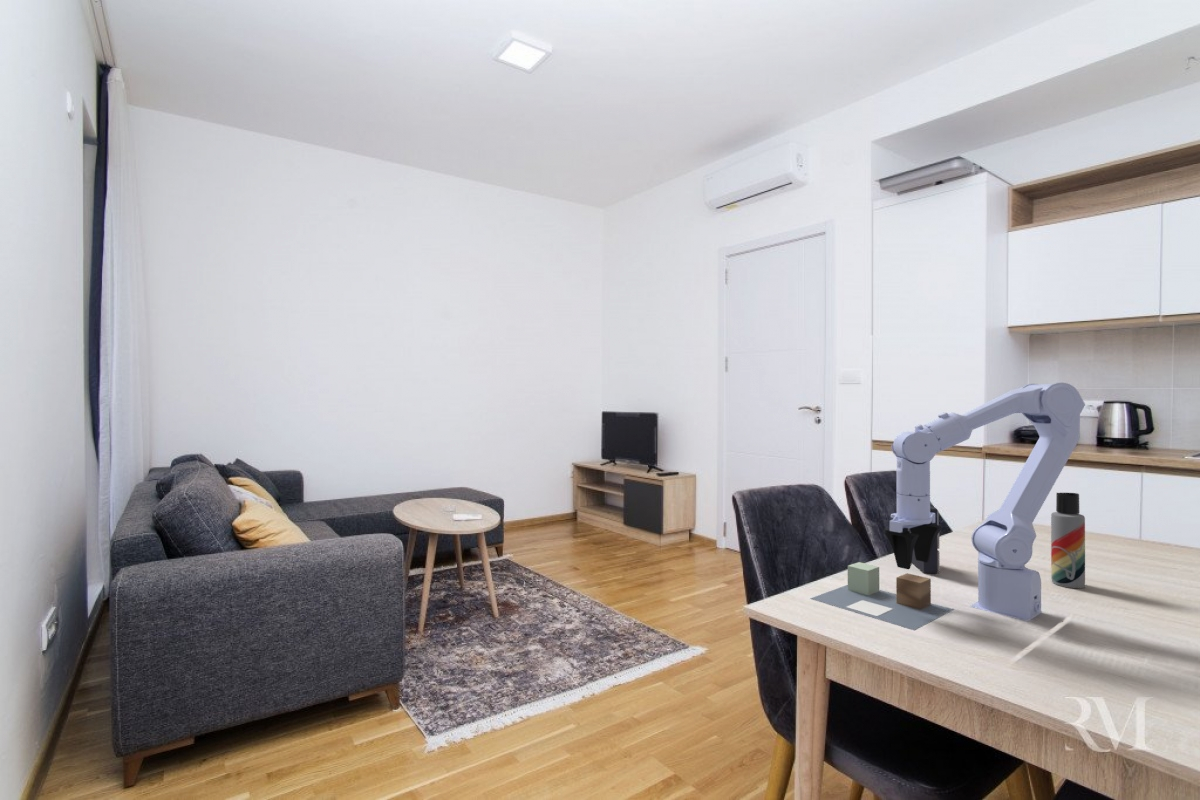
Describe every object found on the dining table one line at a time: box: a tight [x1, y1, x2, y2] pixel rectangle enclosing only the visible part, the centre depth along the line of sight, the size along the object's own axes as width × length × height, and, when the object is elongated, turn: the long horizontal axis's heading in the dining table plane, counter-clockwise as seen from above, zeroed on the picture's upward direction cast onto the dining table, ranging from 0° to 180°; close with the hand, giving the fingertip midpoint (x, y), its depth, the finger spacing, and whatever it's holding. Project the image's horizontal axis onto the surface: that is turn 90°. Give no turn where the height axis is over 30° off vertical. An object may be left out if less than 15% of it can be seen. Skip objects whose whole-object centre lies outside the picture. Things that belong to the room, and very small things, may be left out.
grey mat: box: [809, 584, 955, 631], centre depth 112 cm, size 20×16×1 cm
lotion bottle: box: [1050, 492, 1086, 589], centre depth 125 cm, size 6×6×20 cm
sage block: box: [847, 561, 880, 595], centre depth 120 cm, size 4×4×5 cm
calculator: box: [908, 505, 941, 575], centre depth 138 cm, size 11×4×15 cm, turn 168°
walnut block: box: [895, 572, 932, 610], centre depth 112 cm, size 4×4×5 cm
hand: (913, 564), depth 112 cm, fingers open, 7 cm apart
